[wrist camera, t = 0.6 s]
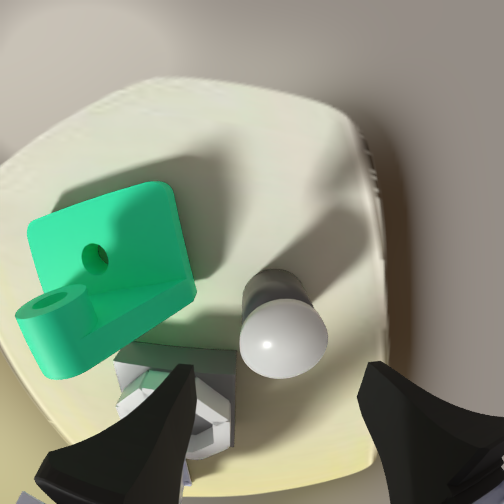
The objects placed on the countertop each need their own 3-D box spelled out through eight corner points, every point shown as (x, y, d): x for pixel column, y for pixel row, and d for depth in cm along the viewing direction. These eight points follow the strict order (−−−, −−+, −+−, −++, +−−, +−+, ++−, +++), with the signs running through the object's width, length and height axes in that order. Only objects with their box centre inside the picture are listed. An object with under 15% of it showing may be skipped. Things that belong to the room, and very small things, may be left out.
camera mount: (174, 177, 17) (97, 177, 7) (199, 286, 19) (161, 381, 9) (44, 218, 18) (-51, 249, 8) (69, 305, 20) (-4, 371, 10)
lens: (301, 327, 20) (320, 377, 14) (239, 326, 20) (238, 378, 14) (309, 268, 19) (334, 305, 13) (242, 266, 19) (241, 304, 13)
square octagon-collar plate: (234, 423, 23) (233, 464, 18) (143, 413, 22) (130, 450, 18) (236, 350, 20) (234, 394, 16) (126, 340, 20) (102, 376, 15)
